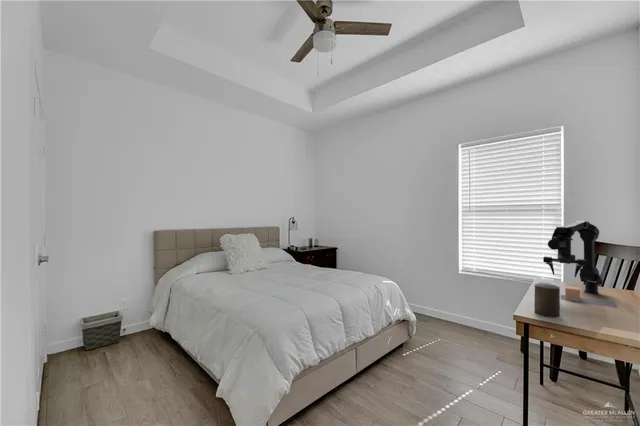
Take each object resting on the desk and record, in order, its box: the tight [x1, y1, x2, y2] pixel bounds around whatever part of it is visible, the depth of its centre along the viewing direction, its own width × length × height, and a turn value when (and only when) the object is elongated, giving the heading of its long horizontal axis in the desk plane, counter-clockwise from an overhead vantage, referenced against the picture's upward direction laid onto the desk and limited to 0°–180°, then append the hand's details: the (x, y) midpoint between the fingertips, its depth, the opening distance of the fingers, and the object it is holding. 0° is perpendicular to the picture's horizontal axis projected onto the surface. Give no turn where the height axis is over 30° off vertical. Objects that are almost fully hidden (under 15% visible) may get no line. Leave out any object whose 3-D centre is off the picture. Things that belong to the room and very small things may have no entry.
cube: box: [564, 285, 581, 301], centre depth 162 cm, size 6×6×6 cm
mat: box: [560, 294, 618, 309], centre depth 158 cm, size 12×22×1 cm, turn 50°
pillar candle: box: [533, 283, 561, 318], centre depth 140 cm, size 10×10×15 cm
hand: (564, 276), depth 163 cm, fingers open, 9 cm apart
